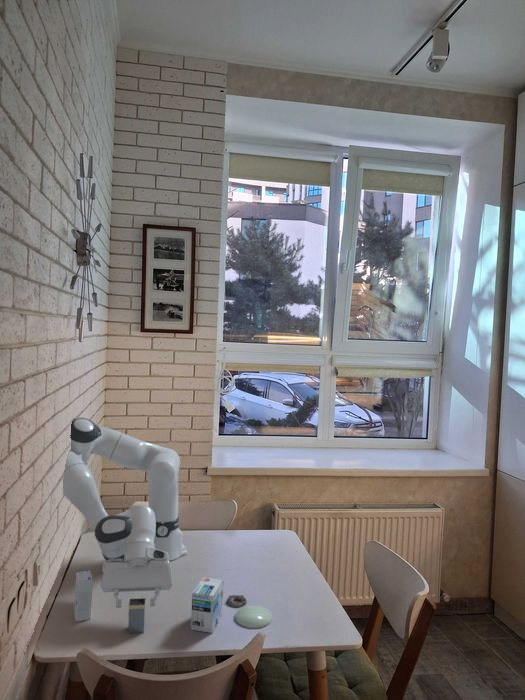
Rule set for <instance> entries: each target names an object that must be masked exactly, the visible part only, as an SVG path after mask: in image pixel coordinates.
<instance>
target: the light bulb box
mask: <svg viewBox="0 0 525 700" xmlns="http://www.w3.org/2000/svg"><path fill="white" fill-rule="evenodd" d="M223 603H224V580H223V579H218V578H217V579H216V578H210V577H205V576H204V577H202V578H201V580H200V581H199V582H198V584H197V585H196V587H195V588H194V590H192V592H191V618H190V619H191V620H190V621H191V623H190V630H191V631H197V632H204V633H209V634H212V633H214V631H215V629H216V627H218V624H219V622H220V620H221V618H222V617H223V608H224V607H223V605H224V604H223Z"/></svg>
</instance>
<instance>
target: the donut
mask: <svg viewBox="0 0 525 700" xmlns="http://www.w3.org/2000/svg"><path fill="white" fill-rule="evenodd" d="M244 596H245V595H239V594H238V595H237V594H232V595H229V596H228V597H227V600H226V602H227V605H228V606H230V607H231V608H232V607H233V608H243V607H245V605H247V604H248V603H247V601H248V600H247V599H246V597H244Z"/></svg>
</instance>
